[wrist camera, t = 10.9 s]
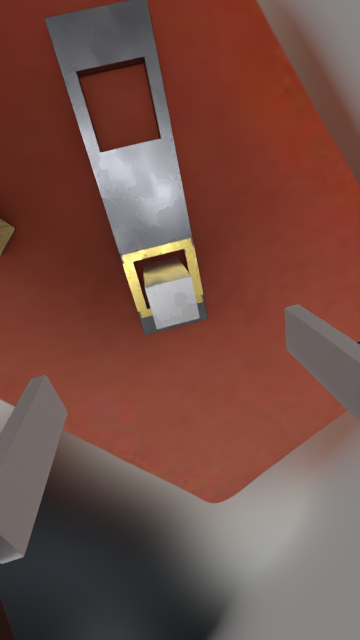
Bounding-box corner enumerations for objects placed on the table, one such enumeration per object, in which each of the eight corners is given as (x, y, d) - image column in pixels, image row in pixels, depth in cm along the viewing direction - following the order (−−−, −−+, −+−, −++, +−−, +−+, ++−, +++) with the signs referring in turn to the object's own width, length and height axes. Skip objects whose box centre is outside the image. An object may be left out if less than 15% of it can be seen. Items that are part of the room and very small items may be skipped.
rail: (48, 26, 23) (43, 16, 22) (145, 6, 24) (146, -5, 23) (145, 331, 37) (145, 335, 36) (205, 315, 38) (208, 319, 37)
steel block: (142, 264, 33) (145, 288, 24) (176, 256, 34) (191, 276, 25) (151, 296, 35) (156, 329, 26) (183, 288, 36) (199, 318, 27)
